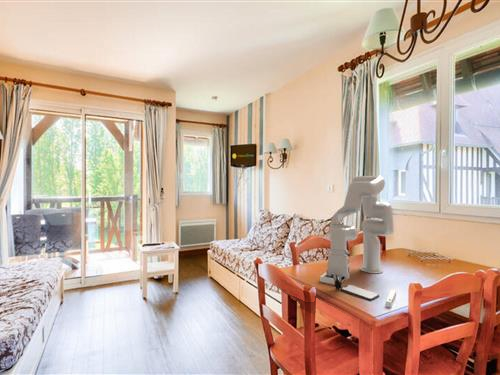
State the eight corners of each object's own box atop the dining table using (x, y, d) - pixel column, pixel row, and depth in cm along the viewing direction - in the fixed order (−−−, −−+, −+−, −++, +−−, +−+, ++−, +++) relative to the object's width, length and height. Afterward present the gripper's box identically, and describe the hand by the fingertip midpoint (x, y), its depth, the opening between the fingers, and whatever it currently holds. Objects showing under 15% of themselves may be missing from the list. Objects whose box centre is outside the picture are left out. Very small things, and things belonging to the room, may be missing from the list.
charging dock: (391, 294, 132) (391, 288, 132) (396, 295, 131) (396, 289, 131) (385, 306, 119) (385, 300, 119) (391, 307, 118) (391, 301, 118)
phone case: (380, 297, 130) (349, 287, 142) (380, 294, 130) (349, 284, 142) (371, 302, 124) (339, 291, 137) (371, 299, 124) (339, 288, 136)
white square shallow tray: (326, 277, 156) (326, 271, 156) (344, 280, 151) (344, 275, 151) (319, 282, 148) (319, 276, 148) (338, 286, 142) (338, 280, 142)
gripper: (355, 252, 136) (355, 289, 136) (326, 248, 145) (326, 283, 145) (351, 255, 130) (351, 294, 130) (321, 251, 138) (320, 287, 139)
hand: (338, 288), depth 137 cm, fingers closed
